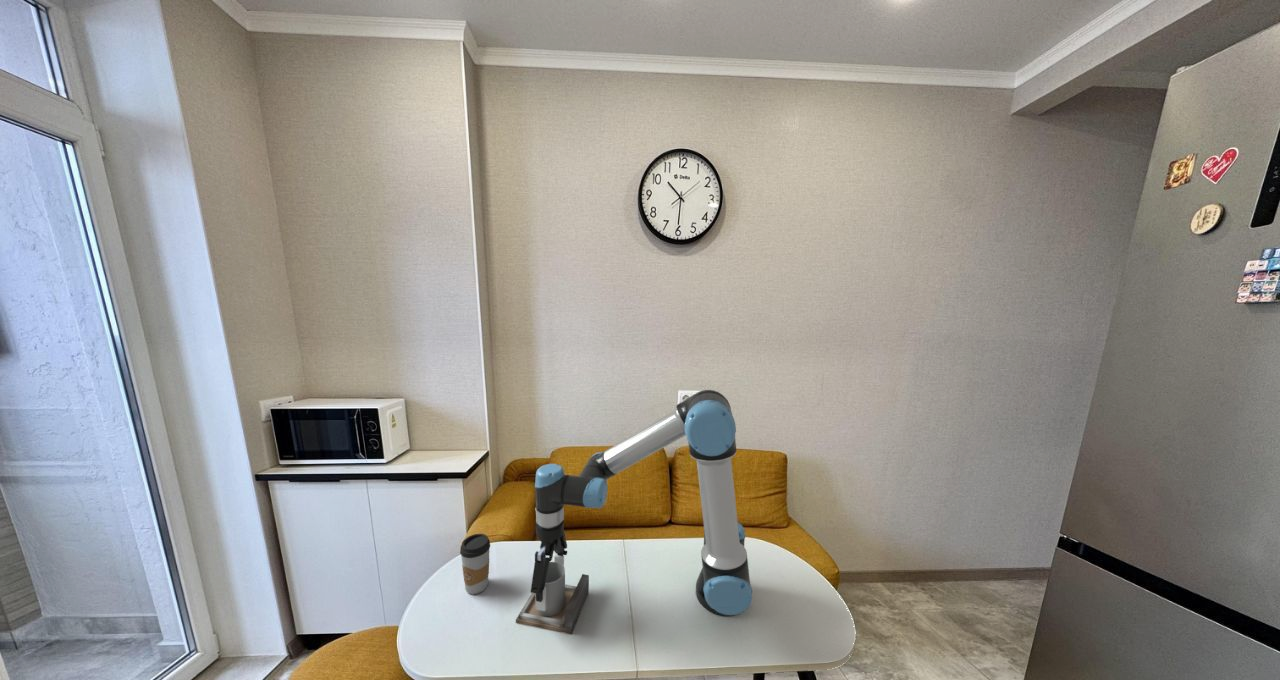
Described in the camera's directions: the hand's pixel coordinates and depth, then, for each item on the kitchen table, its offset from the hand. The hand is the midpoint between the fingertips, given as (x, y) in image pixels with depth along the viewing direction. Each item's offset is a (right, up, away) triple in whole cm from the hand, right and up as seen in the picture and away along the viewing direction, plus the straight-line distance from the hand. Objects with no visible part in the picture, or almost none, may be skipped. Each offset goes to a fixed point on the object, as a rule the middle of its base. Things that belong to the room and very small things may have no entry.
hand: (550, 591), depth 108 cm
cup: (0, -4, 0) cm, 4 cm away
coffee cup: (-24, -4, +7) cm, 26 cm away
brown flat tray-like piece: (+1, -5, 0) cm, 5 cm away
